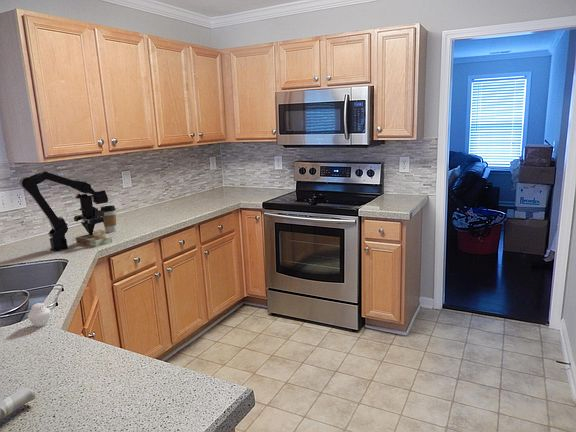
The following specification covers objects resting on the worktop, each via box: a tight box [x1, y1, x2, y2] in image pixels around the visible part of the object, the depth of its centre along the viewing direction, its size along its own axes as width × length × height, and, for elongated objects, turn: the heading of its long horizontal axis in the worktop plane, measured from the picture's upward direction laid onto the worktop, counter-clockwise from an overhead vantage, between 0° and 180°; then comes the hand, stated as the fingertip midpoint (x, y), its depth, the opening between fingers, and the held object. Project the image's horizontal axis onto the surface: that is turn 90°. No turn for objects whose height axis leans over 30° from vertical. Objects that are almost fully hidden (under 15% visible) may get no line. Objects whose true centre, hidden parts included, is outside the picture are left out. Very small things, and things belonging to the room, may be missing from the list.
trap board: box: [75, 233, 113, 248], centre depth 228 cm, size 9×18×3 cm, turn 56°
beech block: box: [93, 229, 107, 240], centre depth 224 cm, size 4×4×4 cm
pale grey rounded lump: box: [27, 302, 51, 328], centre depth 132 cm, size 6×6×7 cm
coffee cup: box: [100, 205, 117, 234], centre depth 250 cm, size 8×8×15 cm
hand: (91, 235), depth 228 cm, fingers closed
